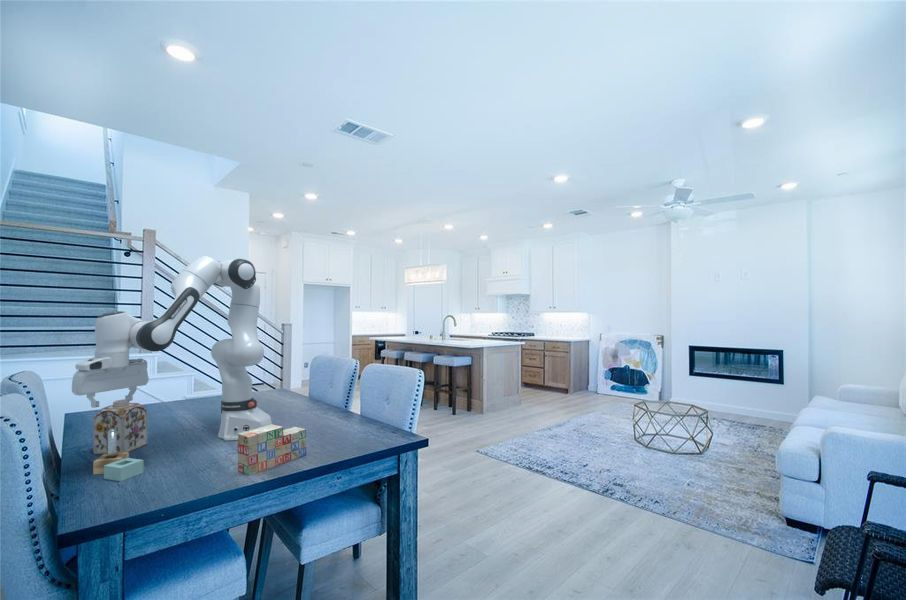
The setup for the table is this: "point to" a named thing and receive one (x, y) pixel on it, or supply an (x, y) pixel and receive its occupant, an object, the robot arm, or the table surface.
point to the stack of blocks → (269, 447)
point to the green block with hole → (123, 469)
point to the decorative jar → (120, 427)
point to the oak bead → (107, 461)
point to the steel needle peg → (112, 443)
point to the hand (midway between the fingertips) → (112, 403)
